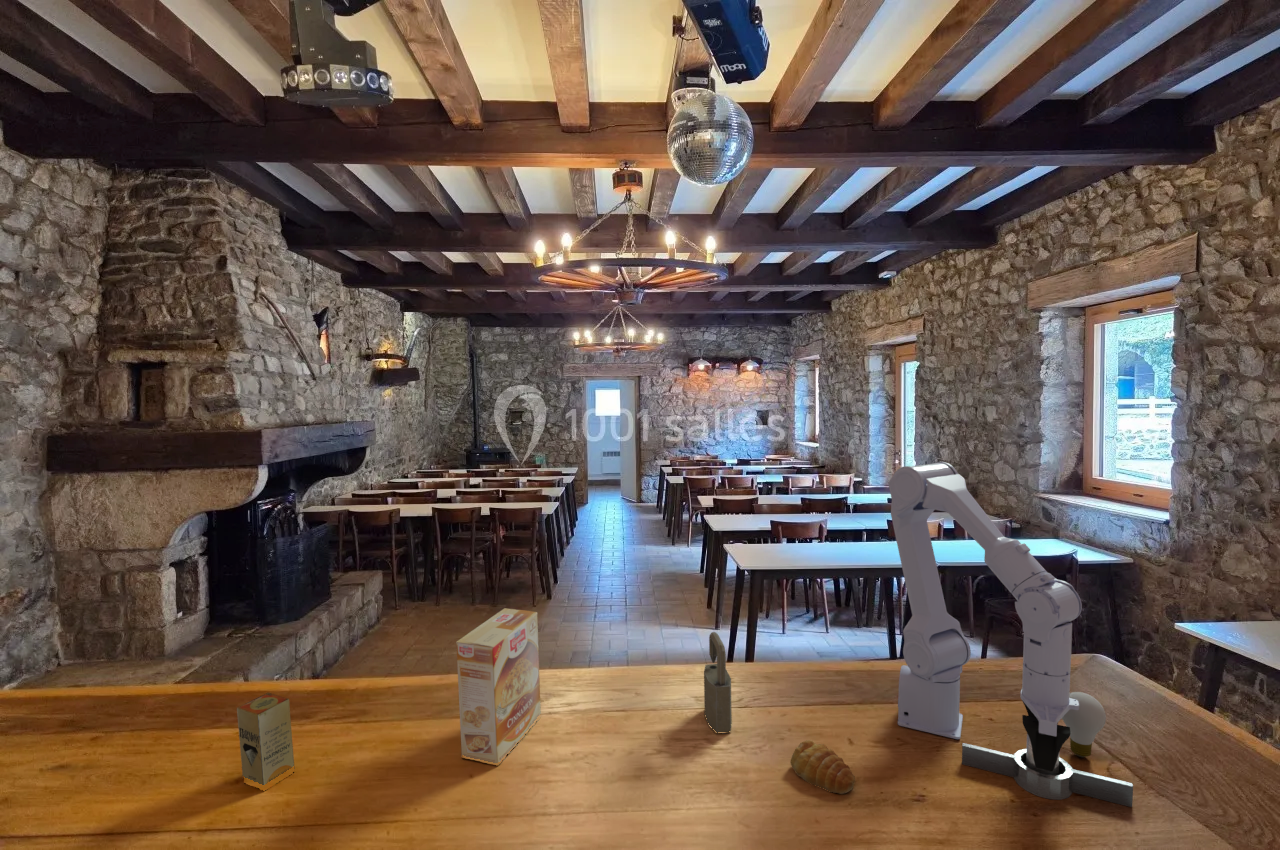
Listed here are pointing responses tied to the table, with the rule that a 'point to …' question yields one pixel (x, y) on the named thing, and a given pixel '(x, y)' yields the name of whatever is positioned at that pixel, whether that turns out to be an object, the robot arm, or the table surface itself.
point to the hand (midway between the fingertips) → (1043, 757)
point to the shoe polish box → (265, 738)
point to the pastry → (822, 767)
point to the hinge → (1048, 776)
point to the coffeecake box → (498, 683)
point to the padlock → (717, 687)
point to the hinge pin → (1031, 763)
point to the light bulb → (1084, 723)
